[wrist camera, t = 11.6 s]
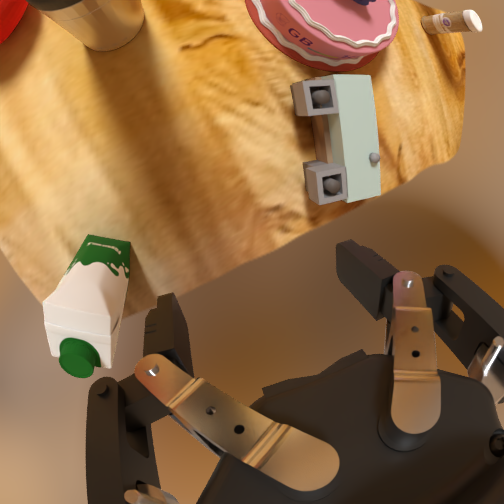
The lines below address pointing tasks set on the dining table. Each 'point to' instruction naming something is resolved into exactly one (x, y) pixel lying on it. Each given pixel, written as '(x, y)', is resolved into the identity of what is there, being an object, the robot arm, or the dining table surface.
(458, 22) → the sprinkles bottle
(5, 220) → the dining table surface
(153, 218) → the dining table surface
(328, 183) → the carcass
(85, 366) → the milk carton
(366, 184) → the door
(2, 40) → the tomato
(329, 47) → the cake
